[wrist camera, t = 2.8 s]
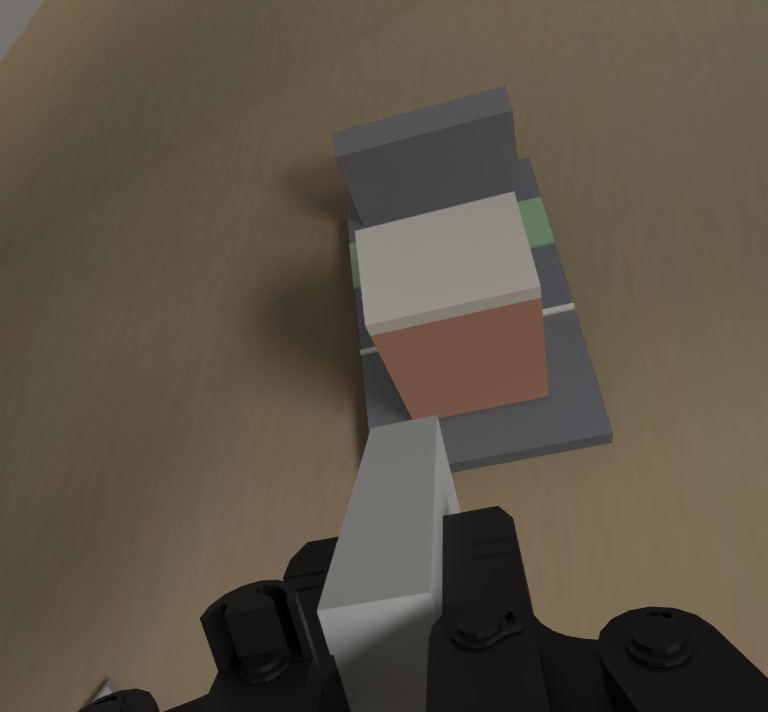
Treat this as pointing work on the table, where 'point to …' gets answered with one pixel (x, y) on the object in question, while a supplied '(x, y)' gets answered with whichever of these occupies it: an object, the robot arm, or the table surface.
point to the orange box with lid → (455, 307)
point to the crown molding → (107, 689)
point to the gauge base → (504, 175)
